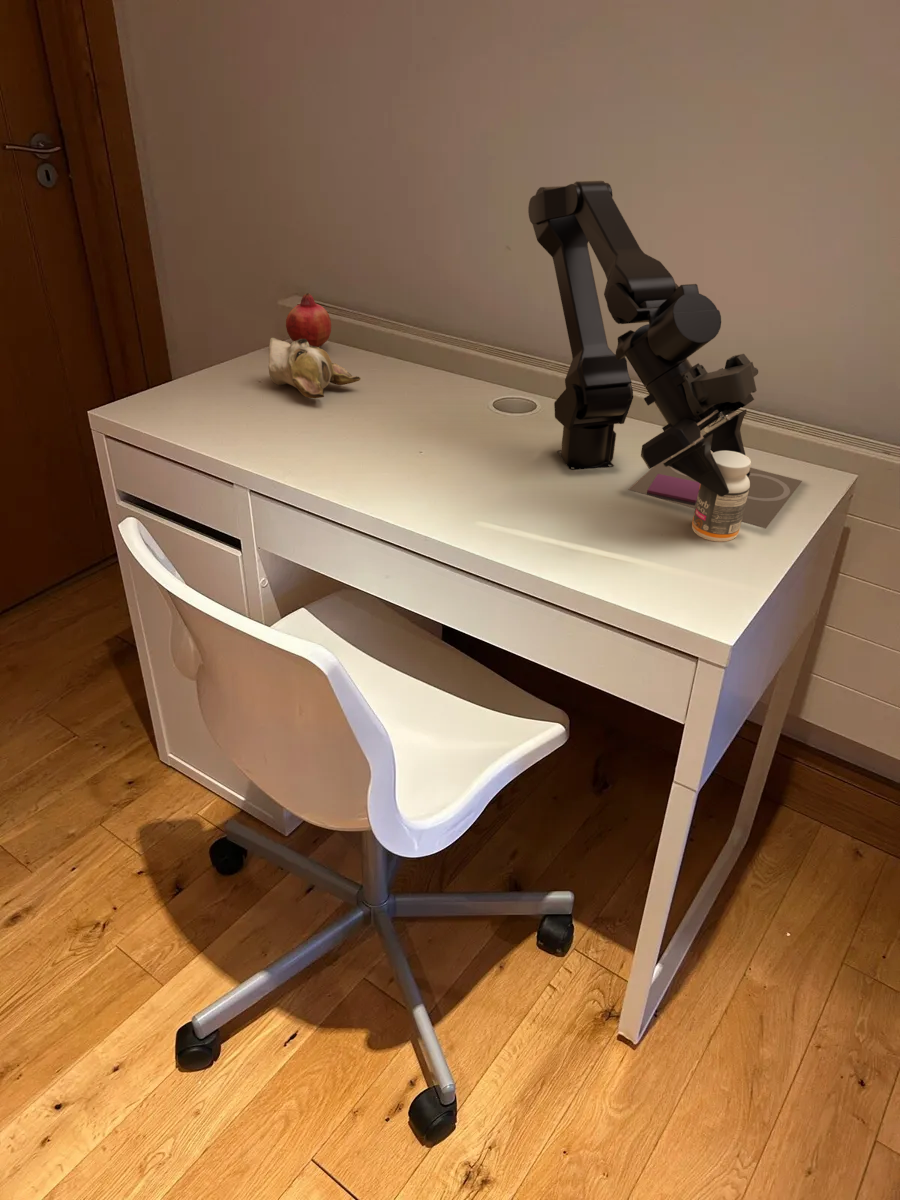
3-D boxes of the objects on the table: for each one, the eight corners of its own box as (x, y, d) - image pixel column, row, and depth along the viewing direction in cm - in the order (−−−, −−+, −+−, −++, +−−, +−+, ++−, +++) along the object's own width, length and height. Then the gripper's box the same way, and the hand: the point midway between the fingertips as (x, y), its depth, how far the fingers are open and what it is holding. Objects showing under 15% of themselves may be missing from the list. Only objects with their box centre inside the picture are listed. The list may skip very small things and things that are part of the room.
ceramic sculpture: (292, 320, 155) (363, 343, 149) (294, 369, 160) (362, 394, 154) (247, 336, 148) (319, 361, 141) (250, 388, 153) (320, 414, 146)
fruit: (342, 349, 171) (339, 293, 165) (309, 359, 165) (306, 302, 160) (311, 339, 175) (308, 285, 169) (278, 349, 170) (274, 293, 164)
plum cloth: (695, 503, 121) (695, 500, 121) (646, 492, 123) (647, 490, 123) (704, 486, 125) (705, 483, 125) (657, 476, 127) (657, 473, 127)
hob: (764, 532, 116) (765, 528, 116) (627, 493, 124) (627, 489, 124) (801, 484, 128) (802, 480, 127) (673, 451, 136) (674, 447, 136)
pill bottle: (685, 521, 117) (699, 448, 112) (729, 520, 118) (745, 447, 112) (699, 544, 112) (714, 469, 107) (745, 543, 113) (762, 468, 107)
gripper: (683, 357, 98) (761, 483, 98) (754, 317, 110) (823, 430, 111) (608, 409, 106) (680, 525, 107) (682, 366, 118) (746, 471, 119)
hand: (736, 485), depth 111 cm, fingers closed on pill bottle, 6 cm apart
